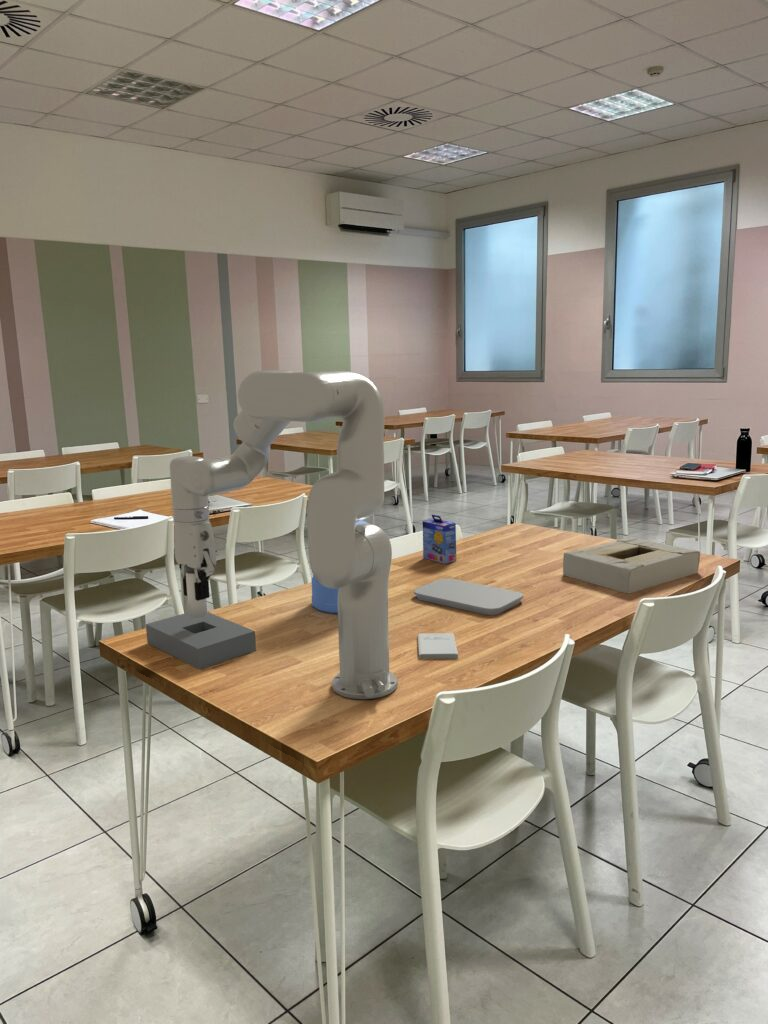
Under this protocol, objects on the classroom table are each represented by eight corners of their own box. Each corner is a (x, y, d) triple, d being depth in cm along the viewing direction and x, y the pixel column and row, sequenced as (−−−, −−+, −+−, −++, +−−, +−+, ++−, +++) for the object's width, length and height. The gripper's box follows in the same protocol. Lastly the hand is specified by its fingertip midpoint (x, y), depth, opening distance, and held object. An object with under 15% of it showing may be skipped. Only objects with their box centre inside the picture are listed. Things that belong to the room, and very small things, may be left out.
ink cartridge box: (421, 558, 238) (421, 513, 235) (434, 555, 242) (433, 510, 239) (444, 564, 231) (444, 517, 228) (457, 560, 234) (456, 515, 232)
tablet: (444, 584, 211) (444, 577, 211) (527, 602, 195) (527, 593, 195) (409, 599, 199) (409, 591, 198) (494, 619, 183) (494, 610, 182)
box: (629, 596, 198) (699, 574, 216) (630, 568, 197) (701, 547, 215) (561, 578, 217) (631, 559, 235) (561, 552, 215) (631, 534, 234)
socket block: (256, 650, 165) (254, 630, 164) (199, 669, 155) (198, 648, 154) (201, 627, 180) (200, 609, 179) (147, 643, 170) (145, 624, 170)
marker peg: (208, 616, 165) (204, 563, 162) (188, 618, 164) (184, 565, 161) (207, 610, 169) (204, 558, 166) (188, 612, 168) (184, 560, 165)
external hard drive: (419, 661, 159) (417, 639, 171) (458, 660, 158) (454, 639, 171) (419, 654, 158) (417, 632, 171) (458, 653, 158) (454, 632, 170)
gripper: (228, 517, 158) (232, 600, 162) (186, 507, 170) (191, 585, 174) (196, 523, 153) (202, 609, 157) (155, 512, 165) (161, 592, 169)
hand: (196, 595), depth 165 cm, fingers closed on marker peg, 4 cm apart
